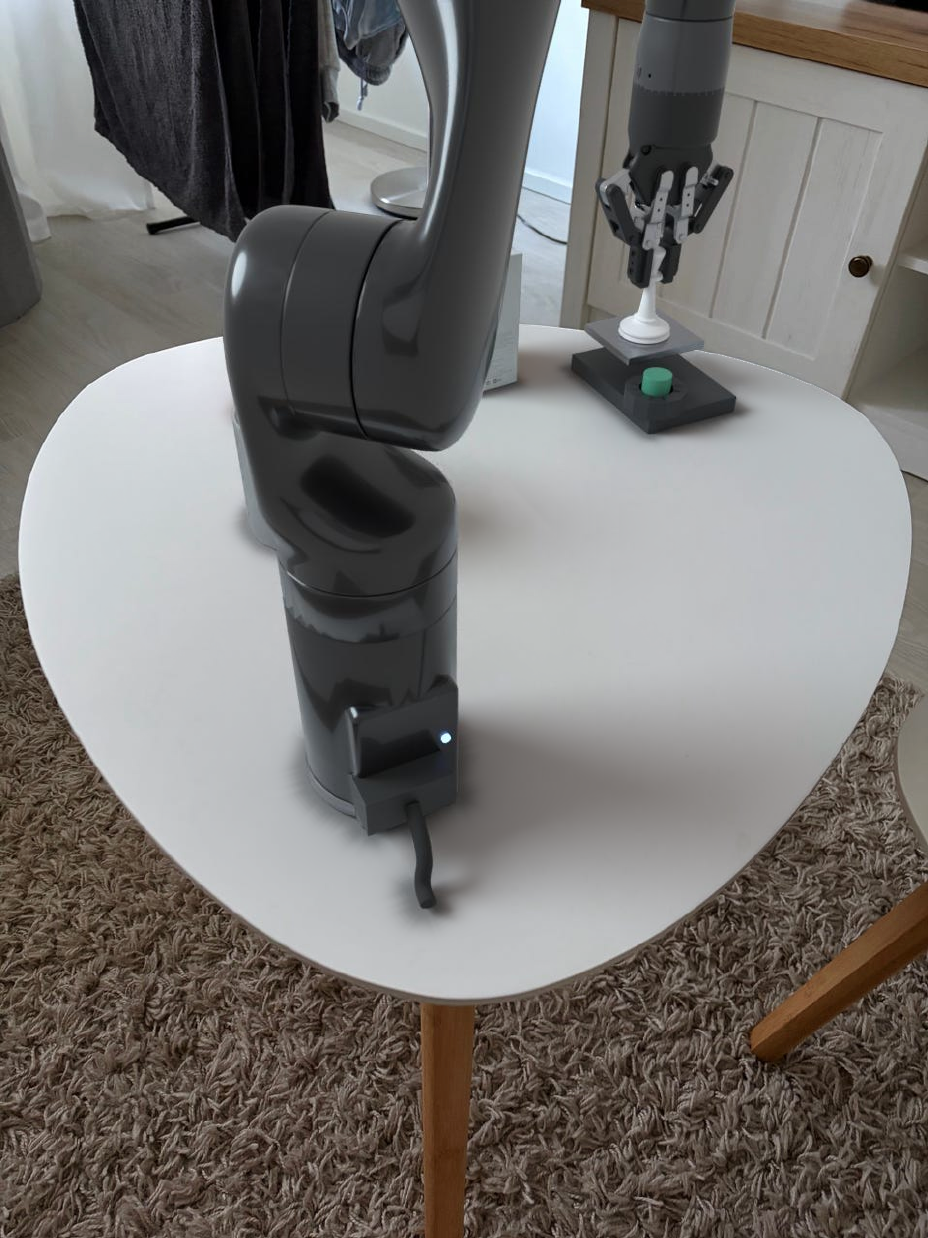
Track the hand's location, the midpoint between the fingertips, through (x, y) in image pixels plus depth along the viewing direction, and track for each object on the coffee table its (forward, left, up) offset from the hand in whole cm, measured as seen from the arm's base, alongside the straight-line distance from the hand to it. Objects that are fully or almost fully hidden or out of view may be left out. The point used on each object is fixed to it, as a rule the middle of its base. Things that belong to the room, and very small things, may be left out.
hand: (651, 281), depth 92 cm
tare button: (-7, +3, -7) cm, 11 cm away
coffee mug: (-7, +37, -10) cm, 39 cm away
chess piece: (0, 0, -5) cm, 5 cm away
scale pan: (0, 0, -6) cm, 6 cm away
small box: (+8, +15, -10) cm, 20 cm away
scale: (-2, 0, -10) cm, 10 cm away
